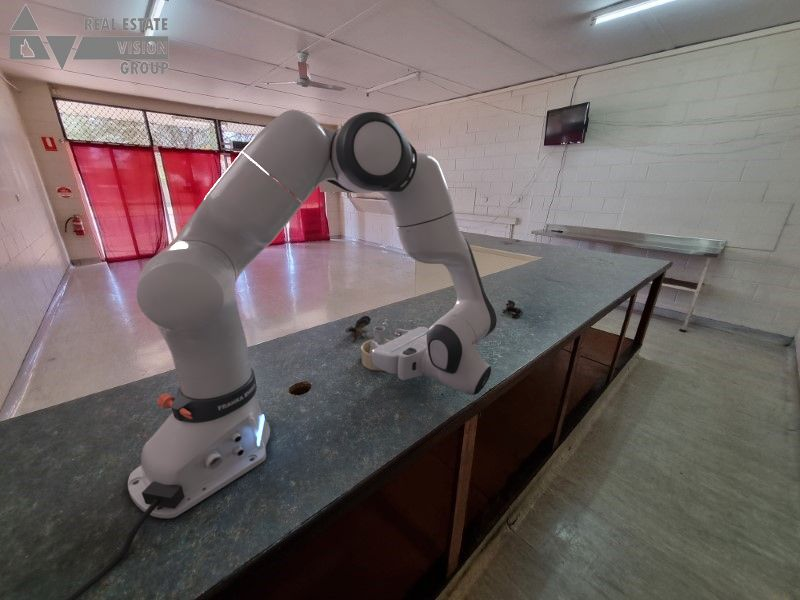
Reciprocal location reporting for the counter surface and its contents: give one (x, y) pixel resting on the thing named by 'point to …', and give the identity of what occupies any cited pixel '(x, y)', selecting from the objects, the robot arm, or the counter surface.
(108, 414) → the counter surface
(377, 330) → the flask
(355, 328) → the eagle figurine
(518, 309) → the horse figurine
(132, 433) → the counter surface
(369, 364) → the beige round bowl
